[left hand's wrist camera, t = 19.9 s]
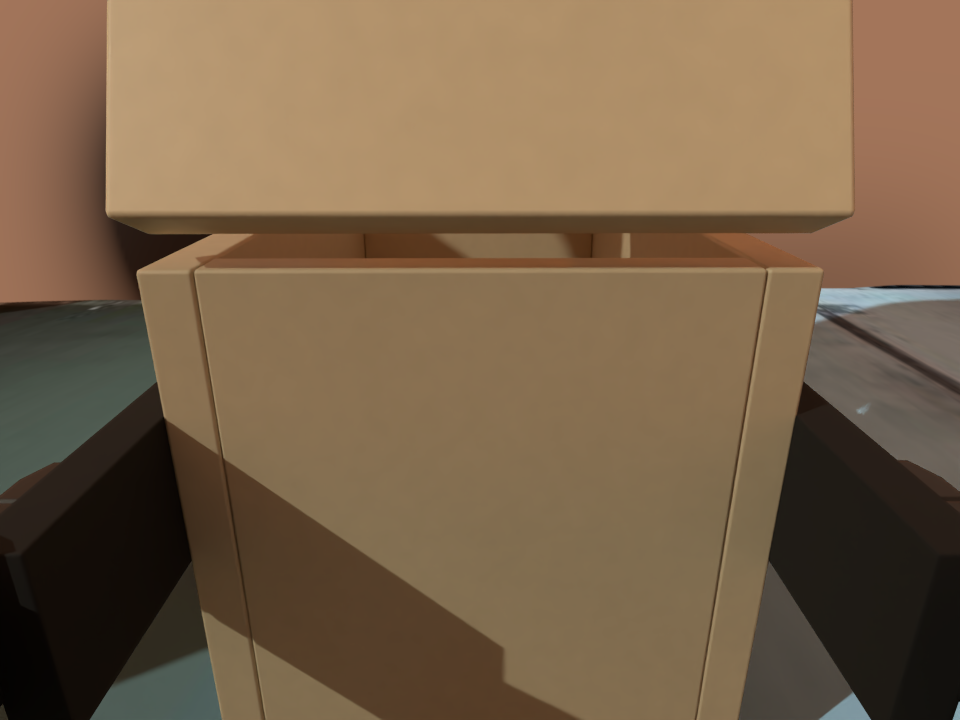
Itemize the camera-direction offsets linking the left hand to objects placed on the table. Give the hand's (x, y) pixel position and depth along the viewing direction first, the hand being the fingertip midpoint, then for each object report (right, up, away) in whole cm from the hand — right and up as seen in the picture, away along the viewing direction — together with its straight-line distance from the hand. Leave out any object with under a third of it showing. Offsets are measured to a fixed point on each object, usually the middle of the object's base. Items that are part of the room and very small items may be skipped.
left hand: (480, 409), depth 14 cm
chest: (0, -5, +7) cm, 8 cm away
